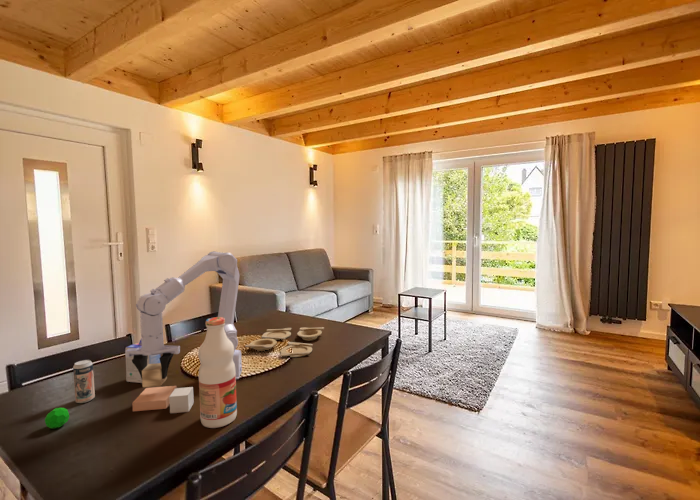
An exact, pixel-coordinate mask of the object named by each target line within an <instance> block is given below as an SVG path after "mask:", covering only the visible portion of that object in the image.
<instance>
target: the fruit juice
mask: <svg viewBox="0 0 700 500" xmlns="http://www.w3.org/2000/svg"><path fill="white" fill-rule="evenodd" d="M224 325H225V318H223V317H218V316H216V317H211V318H207V319H206V320H205V327H206V335H205V337H204V341H203V342H202V344H201V345H200V346H199V347H198V352H197V353H198V354H197V355H198V359H199V362H200V366H199V368H198V388H199V389H198V391H199V392H198V393H199V417H200V422H201V425H202V426H203V427H205V428H210V429H216V428H221V427H224V426H227V425H229V424H230V423H232V422H233V421H235V419H236V417H237V414H238V406H237V405H238V404H237V403H238V401H237V379H236V370H235V364H234V362H233V355H234V345H233V343H232V342H231V341H230V340H229V339H228V337H227V336H226V333H225V330H224Z"/></svg>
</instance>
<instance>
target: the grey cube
mask: <svg viewBox="0 0 700 500" xmlns="http://www.w3.org/2000/svg"><path fill="white" fill-rule="evenodd" d="M194 398H195V397H194V387H193V386H189V387H188V386H187V387H177V388H175V389H174V391H173V392H172V394H171V395H170V396H169V402H170V404H169V413H170V414H177V413H178V414H179V413H188V412H190V410H191V409H192V406H193V405H194V403H195V401H194V400H195V399H194Z"/></svg>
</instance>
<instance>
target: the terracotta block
mask: <svg viewBox="0 0 700 500" xmlns="http://www.w3.org/2000/svg"><path fill="white" fill-rule="evenodd" d="M175 388H178V387H177V385H169V386H166V385H165V386H153V387H145V388H144V390H143V391H142V392H140V394H139V395H138V396H137V397H136V398H135V399H134V400H133V401H132V402H131V403H132V412H140V411H143V412H144V411H151V410H154V411H155V410H163V409H167V408H168V407H169V406H170V402H169V396H170V395H171V394H172V392H173V391H174V389H175Z"/></svg>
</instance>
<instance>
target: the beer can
mask: <svg viewBox="0 0 700 500" xmlns="http://www.w3.org/2000/svg"><path fill="white" fill-rule="evenodd" d="M72 369H73V384H74V395H75V396H74V397H75V403H77V404H85V403H88V402H90V401H92V400H93V399H94V398H95V397H96V394H95V393H96V392H95V378H94V377H95V375H94V363H93V362H92V361H91V360H90V359H83V360H79V361H76V362H74V365H73V367H72Z"/></svg>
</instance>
